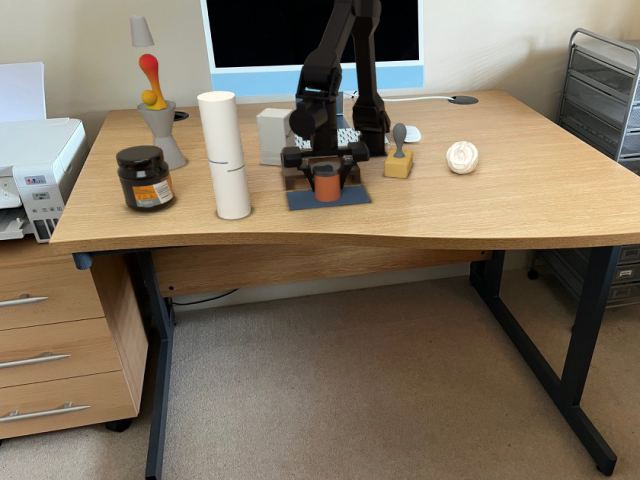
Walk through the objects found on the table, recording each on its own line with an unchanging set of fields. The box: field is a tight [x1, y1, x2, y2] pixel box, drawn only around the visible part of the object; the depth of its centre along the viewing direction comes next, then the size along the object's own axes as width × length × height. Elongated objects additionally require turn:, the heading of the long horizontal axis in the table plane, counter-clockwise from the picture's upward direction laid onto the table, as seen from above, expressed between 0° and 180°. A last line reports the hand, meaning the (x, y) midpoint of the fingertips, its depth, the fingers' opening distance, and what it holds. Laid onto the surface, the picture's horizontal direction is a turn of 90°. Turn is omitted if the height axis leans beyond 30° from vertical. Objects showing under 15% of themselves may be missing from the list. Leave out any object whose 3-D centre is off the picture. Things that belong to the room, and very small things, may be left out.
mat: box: [286, 184, 371, 211], centre depth 132 cm, size 18×9×1 cm, turn 103°
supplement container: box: [115, 144, 176, 214], centre depth 126 cm, size 10×10×12 cm
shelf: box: [280, 150, 362, 191], centre depth 141 cm, size 18×11×5 cm, turn 103°
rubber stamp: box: [383, 122, 414, 179], centre depth 143 cm, size 10×6×12 cm, turn 169°
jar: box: [312, 162, 341, 202], centre depth 130 cm, size 6×6×7 cm
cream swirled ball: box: [445, 140, 480, 175], centre depth 143 cm, size 8×8×8 cm
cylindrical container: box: [196, 90, 252, 220], centre depth 119 cm, size 7×7×25 cm
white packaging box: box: [255, 107, 296, 166], centre depth 148 cm, size 7×7×13 cm
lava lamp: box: [129, 14, 187, 171], centre depth 139 cm, size 9×9×35 cm
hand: (327, 190), depth 131 cm, fingers closed on jar, 6 cm apart
